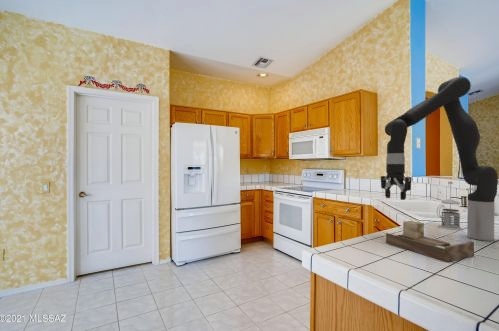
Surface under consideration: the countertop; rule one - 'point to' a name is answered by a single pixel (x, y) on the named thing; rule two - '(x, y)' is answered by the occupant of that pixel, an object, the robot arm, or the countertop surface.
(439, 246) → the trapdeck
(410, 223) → the block
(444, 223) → the french press
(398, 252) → the countertop surface
